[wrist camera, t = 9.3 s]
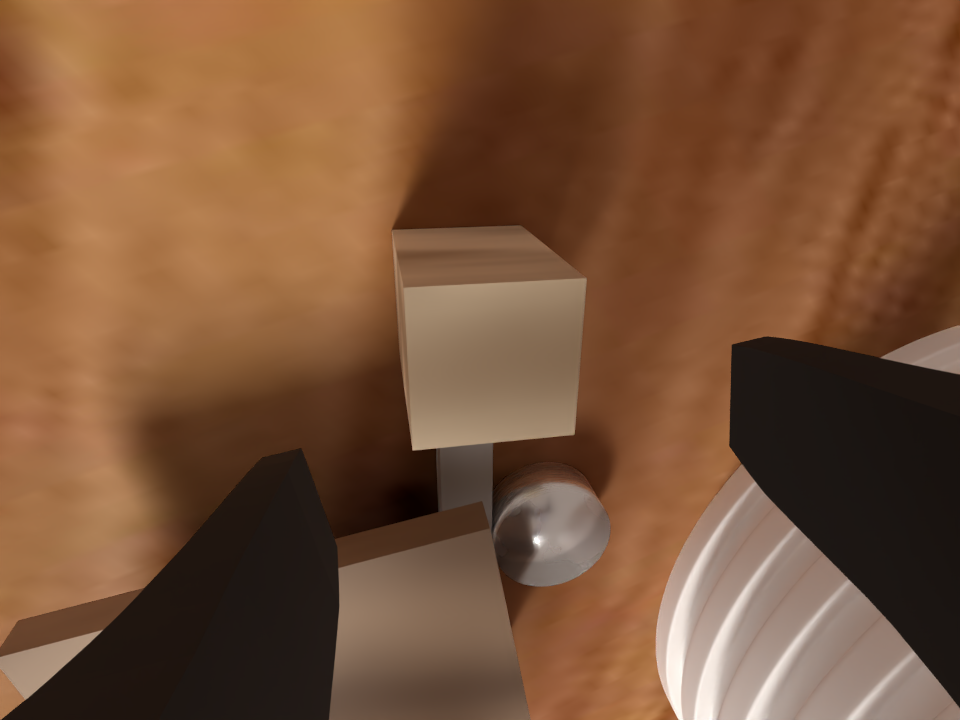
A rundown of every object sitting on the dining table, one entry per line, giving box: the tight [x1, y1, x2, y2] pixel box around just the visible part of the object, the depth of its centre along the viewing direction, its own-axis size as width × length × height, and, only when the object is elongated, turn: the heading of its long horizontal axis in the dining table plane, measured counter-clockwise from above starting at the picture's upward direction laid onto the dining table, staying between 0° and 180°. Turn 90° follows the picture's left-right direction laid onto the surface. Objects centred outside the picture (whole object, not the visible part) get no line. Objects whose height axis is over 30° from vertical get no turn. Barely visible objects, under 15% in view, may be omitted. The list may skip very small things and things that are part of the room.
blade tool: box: [392, 225, 587, 535], centre depth 18 cm, size 14×4×6 cm, turn 0°
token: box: [492, 462, 610, 586], centre depth 22 cm, size 4×4×2 cm
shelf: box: [0, 501, 531, 720], centre depth 20 cm, size 11×13×5 cm
